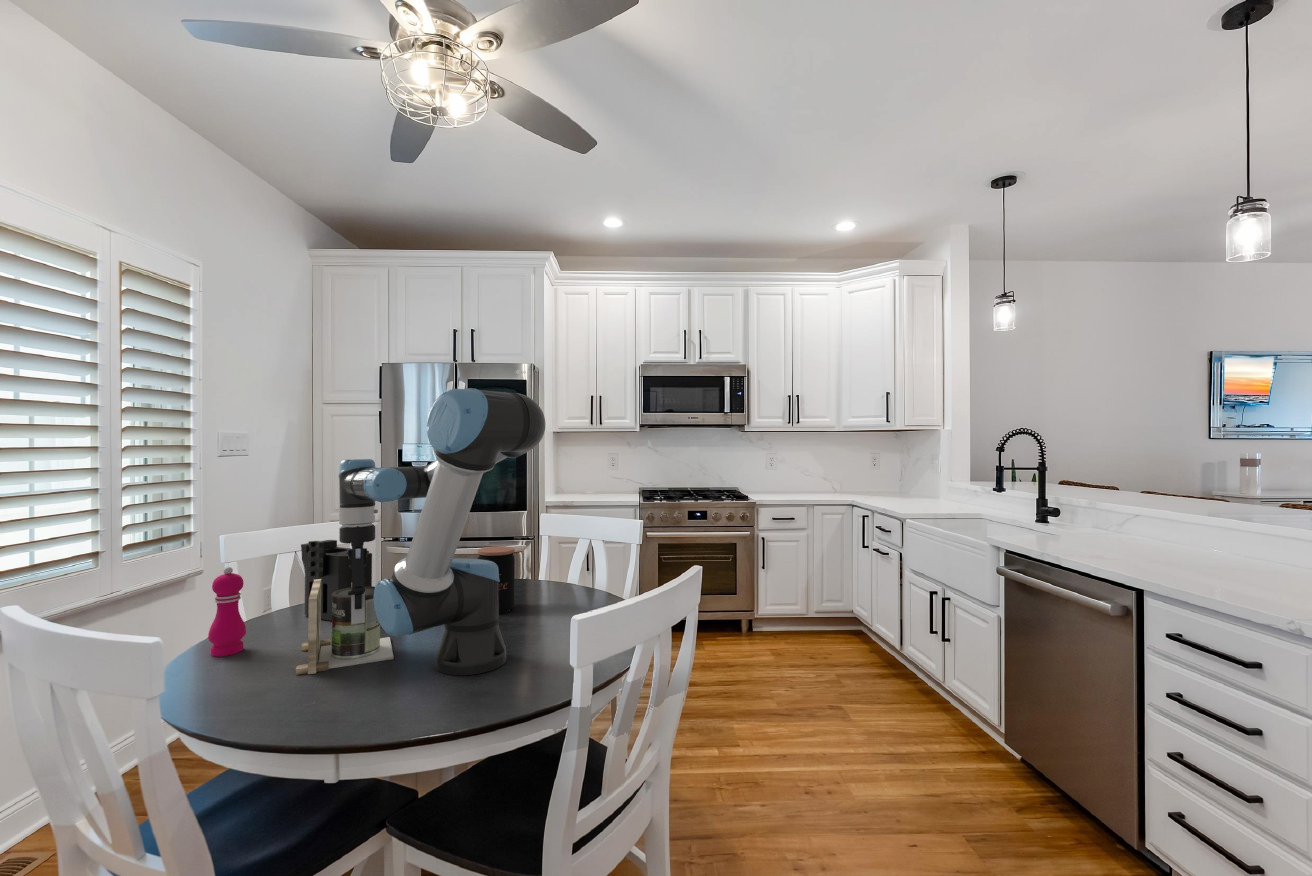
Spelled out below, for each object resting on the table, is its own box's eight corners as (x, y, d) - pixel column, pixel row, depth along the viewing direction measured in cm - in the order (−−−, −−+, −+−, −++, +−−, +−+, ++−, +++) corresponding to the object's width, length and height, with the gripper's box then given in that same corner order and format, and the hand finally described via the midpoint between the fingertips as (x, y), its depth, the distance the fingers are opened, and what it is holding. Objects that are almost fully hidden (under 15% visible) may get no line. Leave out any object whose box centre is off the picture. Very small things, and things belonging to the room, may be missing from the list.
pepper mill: (252, 649, 139) (253, 565, 140) (219, 659, 133) (220, 571, 133) (234, 644, 142) (235, 562, 143) (201, 654, 136) (202, 568, 136)
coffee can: (340, 663, 129) (341, 599, 129) (324, 651, 136) (325, 591, 136) (388, 651, 137) (388, 590, 137) (370, 641, 144) (370, 583, 144)
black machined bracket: (329, 607, 175) (329, 534, 175) (379, 615, 167) (380, 538, 167) (291, 618, 164) (291, 540, 164) (343, 627, 156) (343, 545, 156)
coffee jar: (470, 614, 169) (470, 551, 169) (487, 604, 180) (487, 545, 180) (505, 616, 167) (505, 553, 167) (519, 605, 178) (520, 546, 178)
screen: (328, 671, 126) (328, 597, 126) (295, 676, 123) (296, 600, 124) (331, 643, 144) (331, 578, 144) (302, 646, 141) (303, 580, 141)
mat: (393, 658, 134) (393, 656, 134) (317, 670, 127) (317, 667, 127) (389, 639, 147) (389, 636, 147) (321, 648, 140) (321, 646, 140)
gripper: (377, 529, 128) (377, 627, 127) (373, 518, 150) (373, 601, 149) (338, 531, 124) (338, 632, 124) (340, 520, 146) (340, 605, 146)
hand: (357, 615), depth 137 cm, fingers open, 13 cm apart
